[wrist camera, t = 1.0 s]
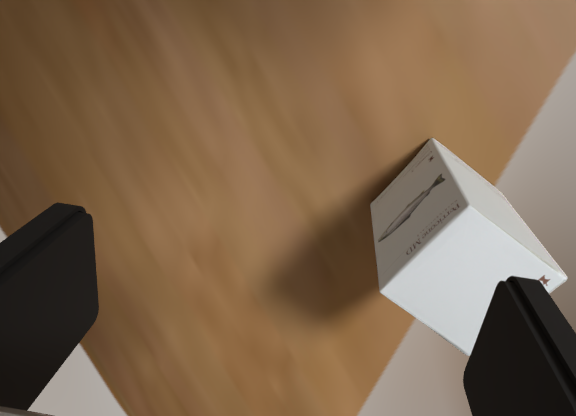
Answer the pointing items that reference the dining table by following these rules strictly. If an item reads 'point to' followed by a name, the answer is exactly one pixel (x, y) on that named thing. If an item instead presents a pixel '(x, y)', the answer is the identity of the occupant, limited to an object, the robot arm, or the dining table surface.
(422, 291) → the supplement box
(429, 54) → the dining table surface
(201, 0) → the dining table surface
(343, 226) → the dining table surface
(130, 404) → the dining table surface
